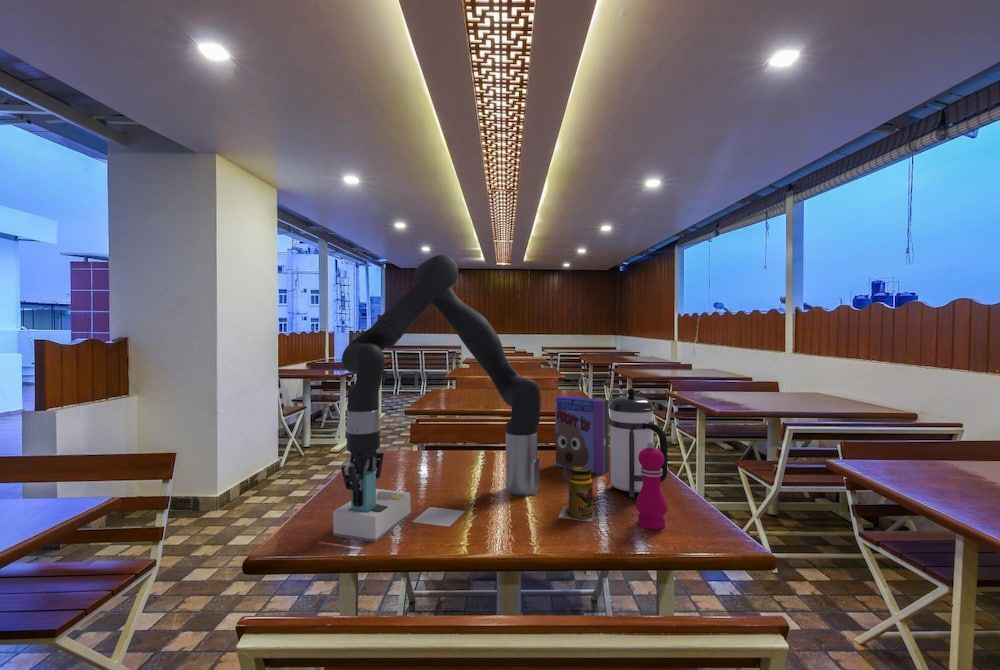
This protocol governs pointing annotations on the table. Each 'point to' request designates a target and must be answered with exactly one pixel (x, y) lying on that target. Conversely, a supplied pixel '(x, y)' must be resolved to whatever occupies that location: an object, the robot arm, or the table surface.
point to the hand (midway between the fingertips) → (363, 502)
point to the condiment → (579, 495)
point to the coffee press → (632, 441)
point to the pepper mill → (651, 489)
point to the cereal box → (582, 433)
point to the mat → (439, 516)
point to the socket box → (372, 517)
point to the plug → (366, 493)
